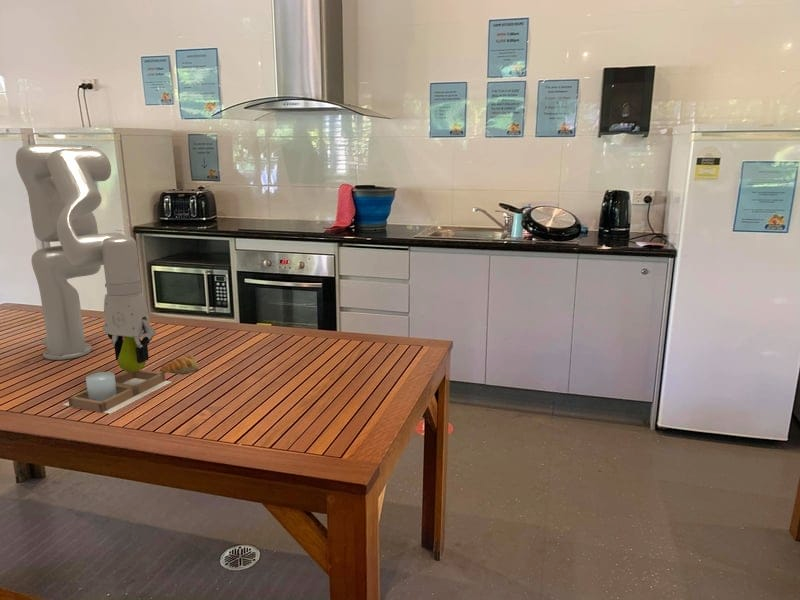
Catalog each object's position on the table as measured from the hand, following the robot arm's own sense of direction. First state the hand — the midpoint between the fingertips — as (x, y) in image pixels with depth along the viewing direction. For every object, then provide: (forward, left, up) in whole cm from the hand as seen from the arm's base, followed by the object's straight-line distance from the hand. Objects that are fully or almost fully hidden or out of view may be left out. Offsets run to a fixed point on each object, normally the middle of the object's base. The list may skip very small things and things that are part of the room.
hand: (132, 359), depth 146 cm
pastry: (+2, +15, -9) cm, 17 cm away
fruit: (0, 0, -3) cm, 3 cm away
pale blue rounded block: (0, -10, -7) cm, 12 cm away
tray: (0, -5, -8) cm, 9 cm away
